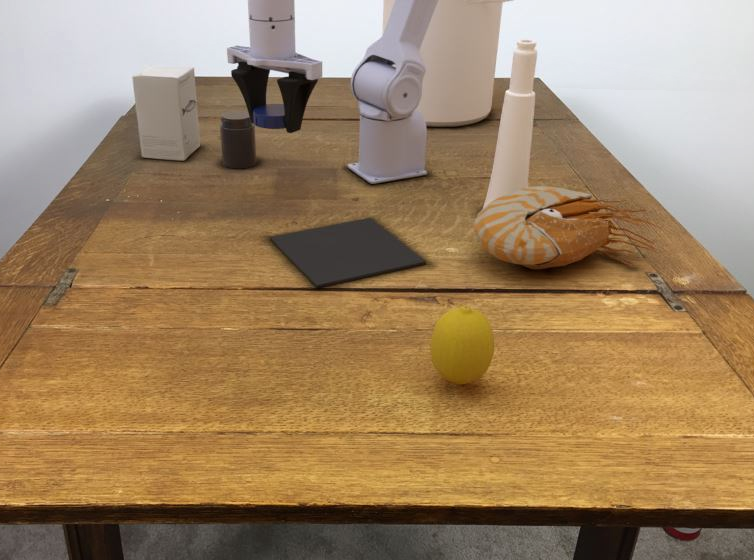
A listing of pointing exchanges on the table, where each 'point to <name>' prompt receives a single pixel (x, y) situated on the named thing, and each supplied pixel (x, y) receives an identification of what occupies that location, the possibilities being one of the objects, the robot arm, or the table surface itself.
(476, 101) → the bucket
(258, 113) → the jar lid
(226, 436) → the table surface
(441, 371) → the lemon
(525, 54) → the cosmetic bottle
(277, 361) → the table surface
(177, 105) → the white packaging box
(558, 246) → the nautilus
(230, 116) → the jar
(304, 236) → the mat
